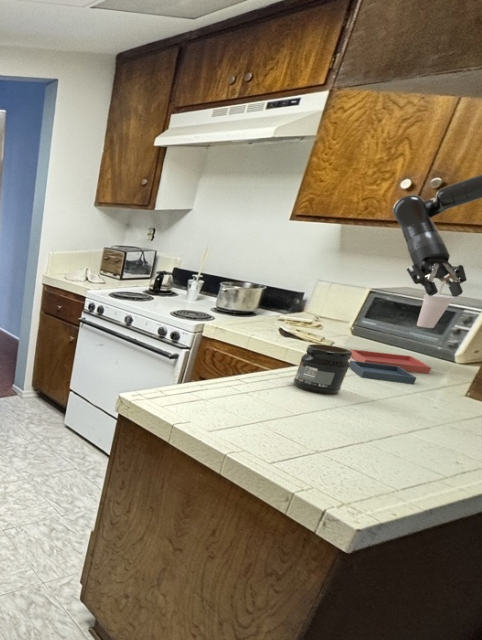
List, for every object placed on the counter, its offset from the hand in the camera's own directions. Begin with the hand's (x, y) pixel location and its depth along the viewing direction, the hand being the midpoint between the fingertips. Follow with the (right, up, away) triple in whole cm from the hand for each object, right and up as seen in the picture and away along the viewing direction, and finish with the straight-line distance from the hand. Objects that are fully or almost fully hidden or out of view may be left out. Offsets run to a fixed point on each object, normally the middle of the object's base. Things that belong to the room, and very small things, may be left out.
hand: (445, 294), depth 141 cm
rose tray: (+1, -20, +18) cm, 27 cm away
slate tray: (-13, -24, +7) cm, 28 cm away
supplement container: (-44, -29, -5) cm, 53 cm away
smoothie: (0, -9, +6) cm, 11 cm away
